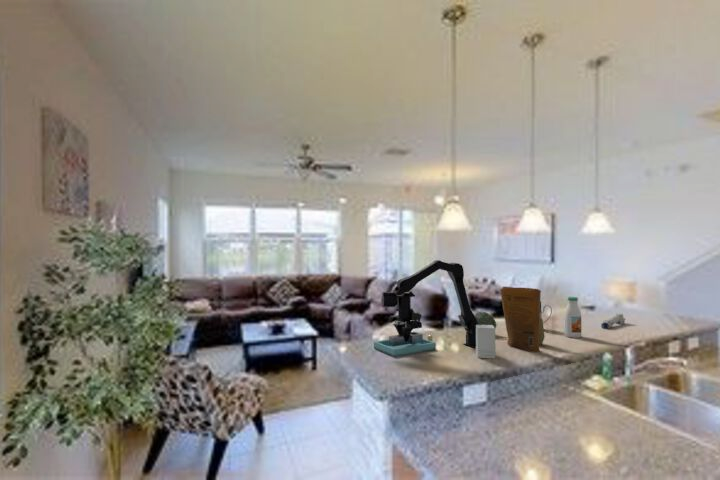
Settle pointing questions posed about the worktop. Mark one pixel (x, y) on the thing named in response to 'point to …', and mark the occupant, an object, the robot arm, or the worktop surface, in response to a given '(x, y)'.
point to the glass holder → (543, 311)
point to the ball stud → (430, 338)
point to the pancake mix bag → (522, 317)
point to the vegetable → (485, 319)
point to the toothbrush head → (613, 321)
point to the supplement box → (485, 341)
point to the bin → (404, 347)
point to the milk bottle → (572, 319)
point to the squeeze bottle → (541, 331)
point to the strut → (400, 339)
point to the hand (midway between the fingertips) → (404, 340)
